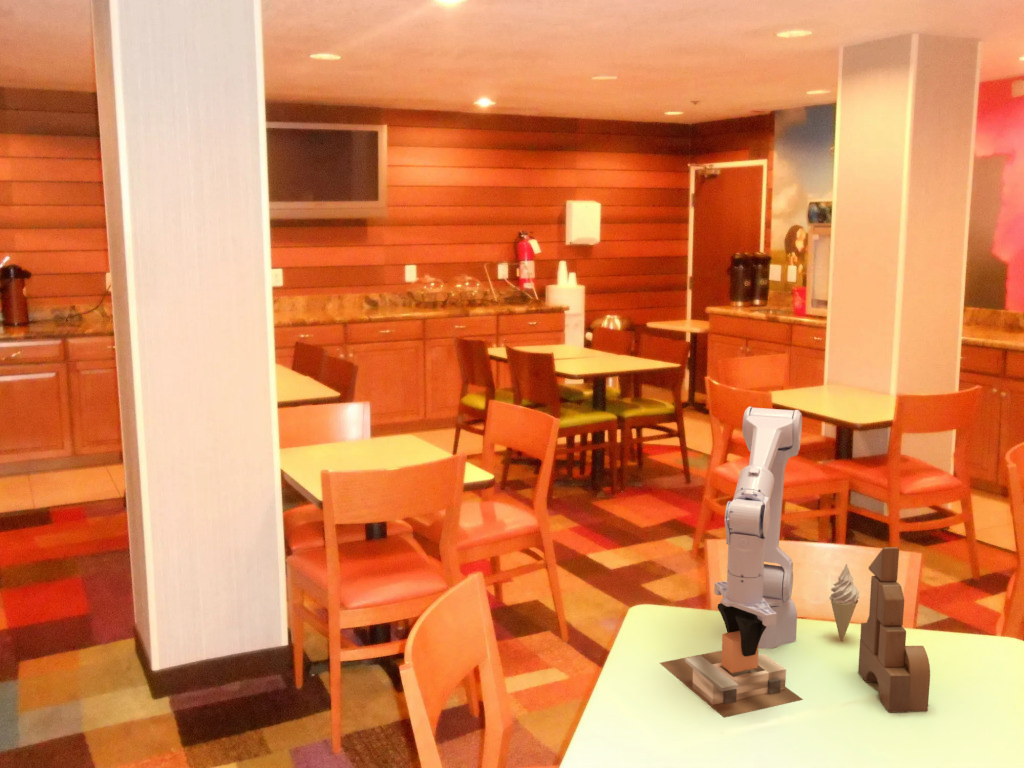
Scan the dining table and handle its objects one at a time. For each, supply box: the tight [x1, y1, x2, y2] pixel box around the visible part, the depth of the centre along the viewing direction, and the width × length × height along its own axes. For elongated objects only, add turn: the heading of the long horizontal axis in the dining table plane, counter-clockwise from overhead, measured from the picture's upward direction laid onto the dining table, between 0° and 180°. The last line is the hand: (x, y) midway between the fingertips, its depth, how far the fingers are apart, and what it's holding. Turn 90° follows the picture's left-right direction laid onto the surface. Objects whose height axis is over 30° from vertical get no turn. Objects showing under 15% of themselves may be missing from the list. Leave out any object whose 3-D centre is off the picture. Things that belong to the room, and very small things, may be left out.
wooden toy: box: [857, 546, 931, 713], centre depth 157 cm, size 16×7×25 cm, turn 0°
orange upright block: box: [721, 631, 759, 673], centre depth 156 cm, size 5×3×6 cm, turn 111°
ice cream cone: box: [829, 563, 860, 642], centre depth 176 cm, size 5×5×15 cm
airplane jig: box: [659, 650, 804, 718], centre depth 160 cm, size 15×20×5 cm
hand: (742, 650), depth 157 cm, fingers closed on orange upright block, 3 cm apart
